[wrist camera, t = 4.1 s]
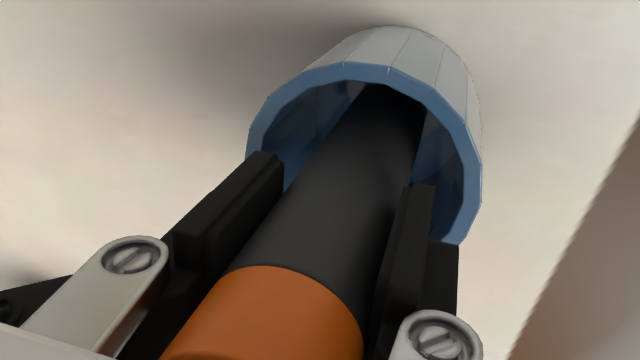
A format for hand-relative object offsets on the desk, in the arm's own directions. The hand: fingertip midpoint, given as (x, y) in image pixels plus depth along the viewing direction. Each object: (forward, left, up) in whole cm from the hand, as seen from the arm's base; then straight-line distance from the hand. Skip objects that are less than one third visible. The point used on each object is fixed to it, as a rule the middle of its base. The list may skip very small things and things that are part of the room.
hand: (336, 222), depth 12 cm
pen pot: (0, 0, -9) cm, 9 cm away
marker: (0, 0, -8) cm, 8 cm away
